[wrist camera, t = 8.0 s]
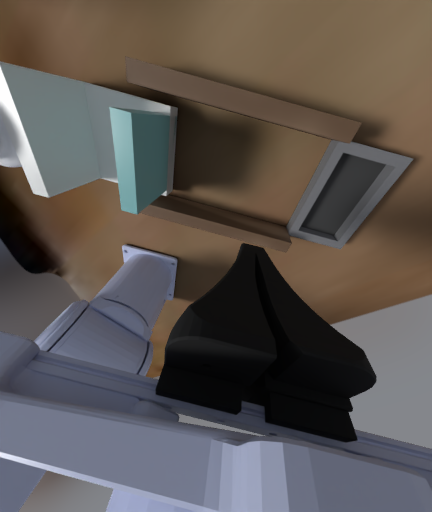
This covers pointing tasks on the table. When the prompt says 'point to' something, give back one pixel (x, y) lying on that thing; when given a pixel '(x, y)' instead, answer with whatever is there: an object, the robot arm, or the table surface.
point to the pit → (344, 192)
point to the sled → (87, 136)
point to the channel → (246, 106)
